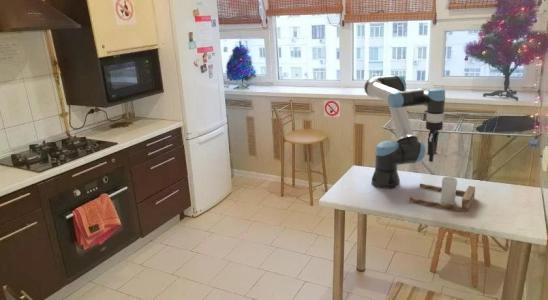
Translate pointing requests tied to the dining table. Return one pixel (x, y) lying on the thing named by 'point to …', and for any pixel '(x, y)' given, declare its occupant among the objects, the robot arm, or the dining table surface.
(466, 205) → the end stop
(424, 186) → the guide lane
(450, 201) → the mug
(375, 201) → the dining table surface
